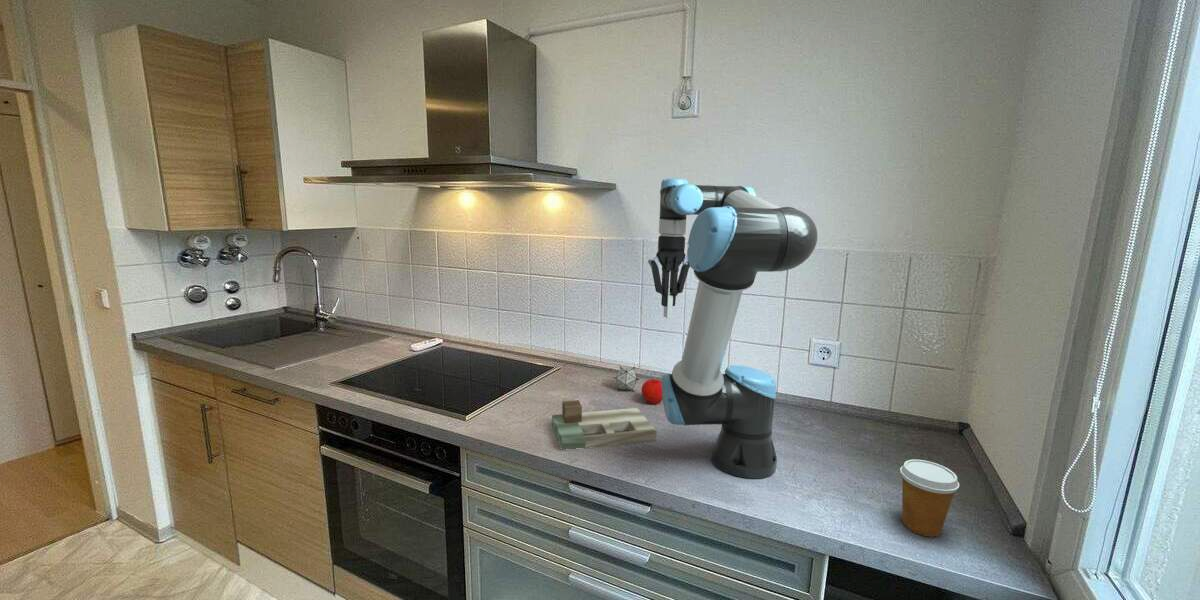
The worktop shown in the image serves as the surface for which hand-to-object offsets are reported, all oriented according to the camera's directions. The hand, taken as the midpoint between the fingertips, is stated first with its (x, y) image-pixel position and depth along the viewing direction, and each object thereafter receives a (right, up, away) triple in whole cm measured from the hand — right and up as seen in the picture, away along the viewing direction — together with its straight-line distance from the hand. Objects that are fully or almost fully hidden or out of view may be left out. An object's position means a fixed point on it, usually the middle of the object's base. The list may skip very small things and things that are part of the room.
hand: (667, 317), depth 142 cm
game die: (-11, -26, +23) cm, 36 cm away
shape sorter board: (-19, -31, -9) cm, 38 cm away
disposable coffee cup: (+43, -40, -46) cm, 75 cm away
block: (-27, -28, -8) cm, 40 cm away
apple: (-3, -28, +13) cm, 31 cm away
